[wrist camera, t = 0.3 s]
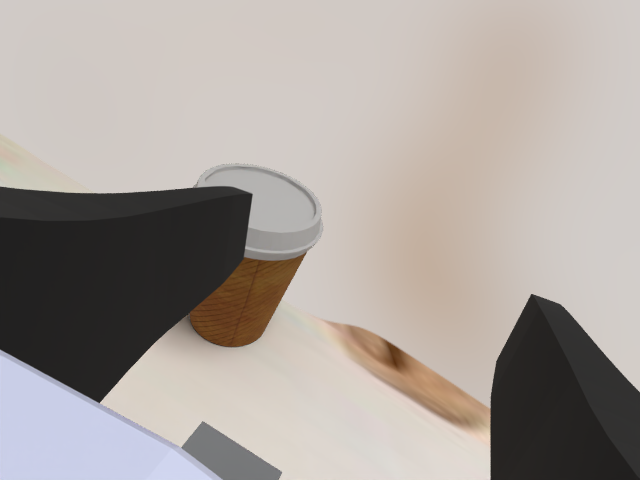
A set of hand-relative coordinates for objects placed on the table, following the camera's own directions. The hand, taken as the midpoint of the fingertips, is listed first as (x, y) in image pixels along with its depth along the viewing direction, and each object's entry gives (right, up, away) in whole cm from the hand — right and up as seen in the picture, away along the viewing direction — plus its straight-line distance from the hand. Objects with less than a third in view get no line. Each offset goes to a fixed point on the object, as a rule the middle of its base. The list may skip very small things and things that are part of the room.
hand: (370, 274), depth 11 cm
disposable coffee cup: (-9, -6, +26) cm, 28 cm away
